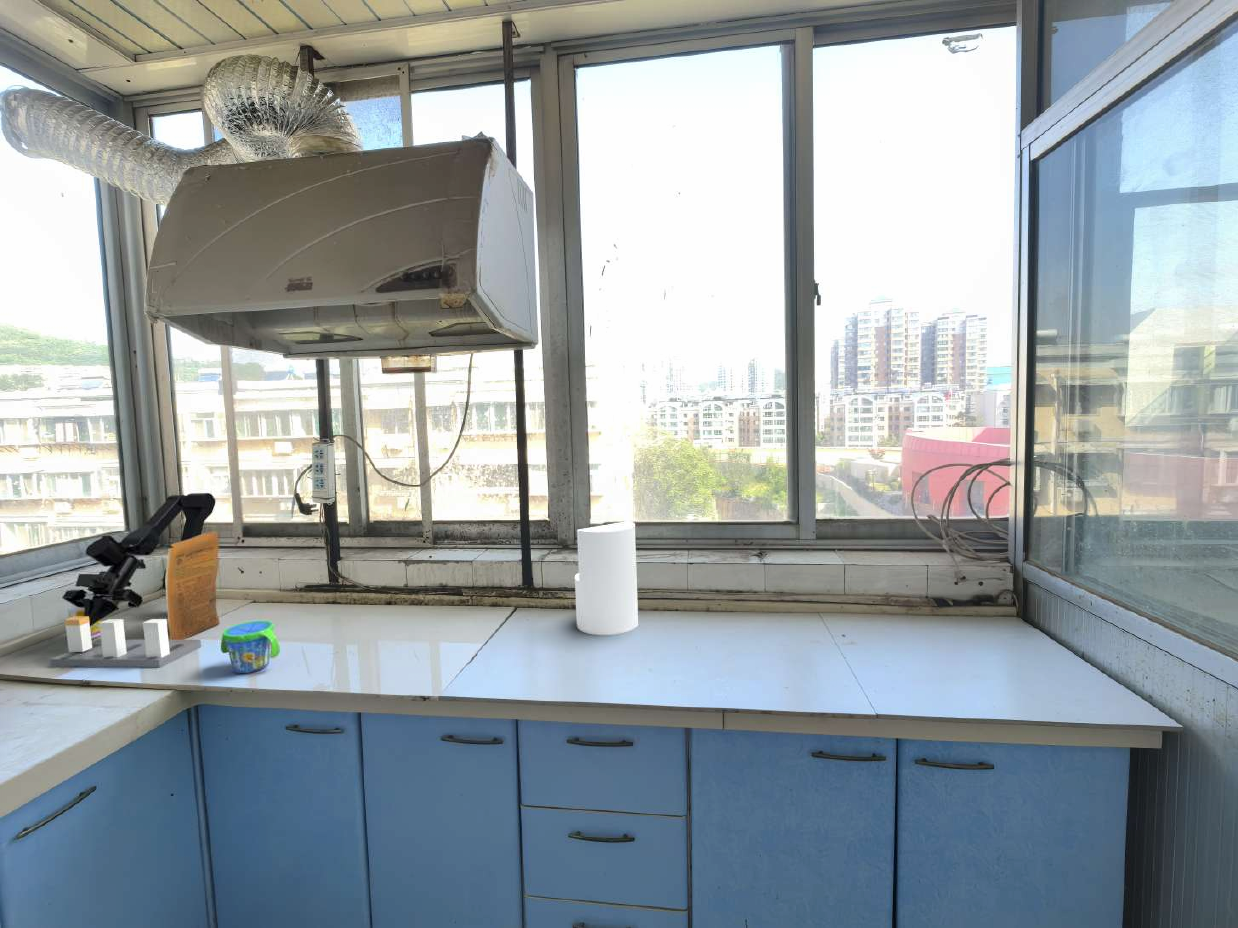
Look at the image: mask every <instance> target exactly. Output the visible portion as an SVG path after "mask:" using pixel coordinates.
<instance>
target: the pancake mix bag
mask: <svg viewBox="0 0 1238 928" xmlns="http://www.w3.org/2000/svg"><path fill="white" fill-rule="evenodd" d="M180 541H181V540H180ZM180 541H177V542H174V543H172V544H170V546H171V548H168V549H167V556H166V557H167V559H166V568H165V569H166V577H165V585H166V591H165V599H166V606H167V620H168V621H167V623H168V628H169V640H187V639H188V638H191V637H194V636H196V635H198V634H200V633H202V632H204V631H207V630H210V629H211V628H212V629H213V628H214V627H216V626H217V627H218V626H219V625H220V617H219V615H218V612H217V590H216V588H217V587H216V586H217V583H216V580H217V576H218V571H219V559H218V558H219V557H218V556H219V547H220V545H219V543H220V542H219V541H220V540H219V535H218V532H217V531H210V532H205V533H201V535H199V536H196V537H193V538H191V539H188V540H184V541H181V542H180Z"/></svg>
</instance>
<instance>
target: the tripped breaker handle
mask: <svg viewBox="0 0 1238 928" xmlns="http://www.w3.org/2000/svg"><path fill="white" fill-rule="evenodd" d="M89 622H90V621H89V616H74V617H72V618H69V617H68V618H65V619H64V625H65V630H66V638H67V639H66V640H67V649H68V652H84V651H86V650H89V649H91V648H92V642H93V641H92V639H91V633H90V624H89Z"/></svg>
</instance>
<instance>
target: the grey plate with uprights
mask: <svg viewBox="0 0 1238 928" xmlns="http://www.w3.org/2000/svg"><path fill="white" fill-rule="evenodd" d="M167 620H168V618H167V619H166V618H151V619H149V620H146V621H144V622H142V628H143V635H144V639H126V636H125V634H126V633H125V628H124V627H125V626H124V625H125V624H124V623H125V621H124V619H122V618H117V619H116V618H111V619H109V618H108V619H105V620H102V621H101V622H100V623H99V628H100V634H101V635H100V638H99V639H97V640H94V641H92V648H91V649H89V650H86V651H84V652H69V651H67V652H64V653H62V654H59V655H57V656H55V657H52V658H50V659H49V662H50V663H49V664H50V667H51V666H95V667H94V668H150V669H151V668H156V669H157V668H158V669H159V668H162V667H164V666H166V665H168V664H169V663H172V662H174V661H176V660H177V659H180V658H182V657H183V656H186V655H187V654H189V653H192V652H193V651H195V650H198V649H200V648H201V647H202V644H201V643H202V642H201V639H183V640H170V639H169V635H168V621H167ZM97 666H99V667H97ZM103 666H104V667H103Z"/></svg>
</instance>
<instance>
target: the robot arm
mask: <svg viewBox="0 0 1238 928" xmlns="http://www.w3.org/2000/svg"><path fill="white" fill-rule="evenodd" d="M215 505H216V498H215V496H214V495H213V494H212V493H209V492H196V493H195V492H194V493H193V492H191V493H188V494H187V495H185V494H171V495H168V496H167V497H166V499H165V502H164V503H163V504H162V505H161V506H160V507H159V508H158V510H157V511H156V512H155V513H154V514H153V515H152V516H151V517H150V518H149V519H148V520H147V521H146V523H144V525H142V526H141V527H140V528H137V529H135V530H133V531H131V532H129V534H127V535H126V536H125V537H124V538H123V539H121V541H117V540H115V538H114V537H113V536H111V535H102V536H101V538H99V539H97V540H94V541H93V542H92V543H91V544H88V546H87V547H86V550H85V555H86V556H88V557H89V558H91V559H93V560H94V561H95V562H97V563H98V564H100V565H101V566H102V567H107V568H108V569H107V570H106V571H104V570H103V571H100V572H99V573H79V574H78V575H77V576H78V577H77V579H76V582H75V587H77V588H78V587H83V588H87V591H86V590H84V589H68V590H66V591H65V593H64V594H63V596H62V599H63V600H64V601H66V602H68V603H70V605H71V604H73V605H75V606H76V607H79V608H85V611H84V616H89V621H90V622H89V624H90V626H92V625H93V624H95V623H96V622H98V621H99V620H102V619H104V618H105V617H107V616H108V615H111V614H112V613H114V612H116V611H119V610H120V607H119V605H120V604H121V603H122V602H126V603H127V602H128V603H127V606H128V607H129V608H131V609H132V608H140V606H141V604H142V603H143V596H141V595H140V594H138V593H137V592H136V591H135V590H132V589H131V588H129V587H131V585H132V582H131V581H130V580H131V579H132V577H133V576H134V574H135V572H137V570H144V569H146V568H147V566H146V563H145V562H144V561H145V560H144V559H143V558H142V559H139V558H137V556H150V555H151V554H153V552H155V550H156V548H157V547H158V545H159V543H160V537H161V535H162V534H163V532H164V531H165V530H166V529H167V528H168V527H169V526H170V524H171V523H172V522H173V521H174V520H175V518H176V517H177V516H178V515H179V514H180V513H181V512H182V513H183V515H184V518H185V521H184V524H183V525H184V526H183V530H182V534H181V538H180V541H179V542H181V541H184V540H188V539H191V538H193V537H196V536H199V535H202V534H203V528H204V526H205V525H204V523H205V521H206V520H207V519H208V518H209V517H210V516H211V515H212V513H213V511H214V509H215ZM165 577H166V568H165V570H164V573H163V578H162V579H161V582H162V588H163V589H164V591H165V592H166V585H165ZM126 587H128V589H127V588H126ZM87 592H93V593H87Z"/></svg>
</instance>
